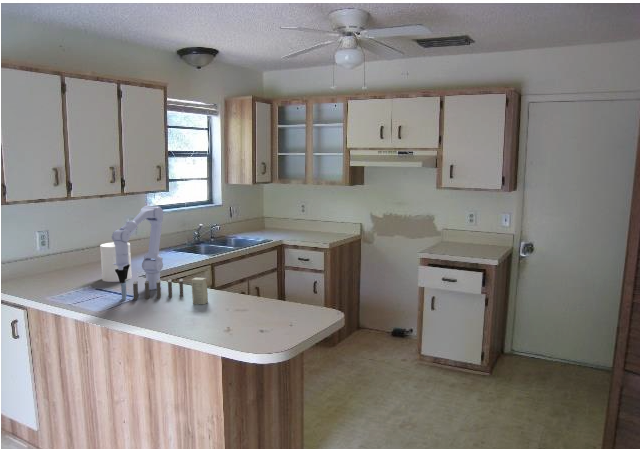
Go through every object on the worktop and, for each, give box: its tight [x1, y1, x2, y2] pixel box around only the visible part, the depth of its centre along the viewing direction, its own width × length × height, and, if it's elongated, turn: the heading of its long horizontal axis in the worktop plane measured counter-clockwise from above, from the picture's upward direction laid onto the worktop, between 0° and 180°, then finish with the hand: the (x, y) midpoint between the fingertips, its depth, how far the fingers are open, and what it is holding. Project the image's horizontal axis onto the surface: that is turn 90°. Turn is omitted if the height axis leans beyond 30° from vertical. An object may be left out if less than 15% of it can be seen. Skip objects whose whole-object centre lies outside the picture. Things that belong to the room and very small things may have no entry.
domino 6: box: [178, 278, 184, 298], centre depth 254 cm, size 5×2×8 cm, turn 14°
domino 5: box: [167, 279, 173, 298], centre depth 253 cm, size 5×2×8 cm, turn 14°
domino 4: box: [156, 279, 162, 299], centre depth 251 cm, size 5×2×8 cm, turn 14°
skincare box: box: [191, 277, 209, 305], centre depth 241 cm, size 6×4×12 cm
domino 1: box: [120, 281, 128, 301], centre depth 247 cm, size 5×2×8 cm, turn 15°
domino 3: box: [144, 280, 151, 300], centre depth 250 cm, size 5×2×8 cm, turn 14°
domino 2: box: [132, 280, 139, 301], centre depth 249 cm, size 5×2×8 cm, turn 14°
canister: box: [99, 241, 133, 283], centre depth 287 cm, size 16×16×20 cm
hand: (123, 281), depth 247 cm, fingers open, 7 cm apart
